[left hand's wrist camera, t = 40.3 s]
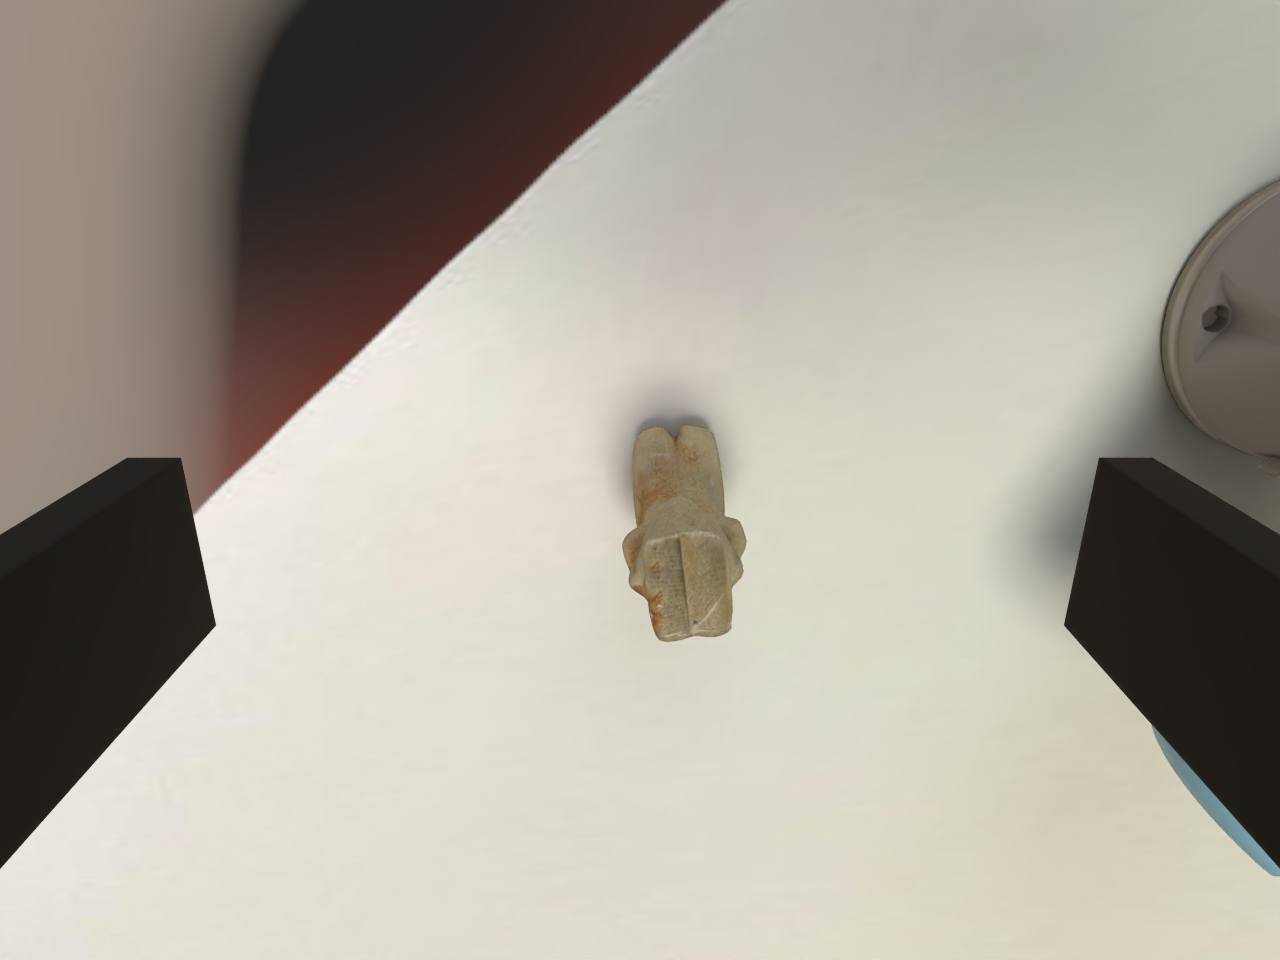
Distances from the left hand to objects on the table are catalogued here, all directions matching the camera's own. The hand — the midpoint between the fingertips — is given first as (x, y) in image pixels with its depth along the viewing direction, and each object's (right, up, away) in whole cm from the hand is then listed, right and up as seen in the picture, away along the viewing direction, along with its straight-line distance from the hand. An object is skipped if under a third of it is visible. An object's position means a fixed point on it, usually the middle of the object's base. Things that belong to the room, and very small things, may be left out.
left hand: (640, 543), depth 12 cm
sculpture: (+2, +1, +36) cm, 36 cm away
